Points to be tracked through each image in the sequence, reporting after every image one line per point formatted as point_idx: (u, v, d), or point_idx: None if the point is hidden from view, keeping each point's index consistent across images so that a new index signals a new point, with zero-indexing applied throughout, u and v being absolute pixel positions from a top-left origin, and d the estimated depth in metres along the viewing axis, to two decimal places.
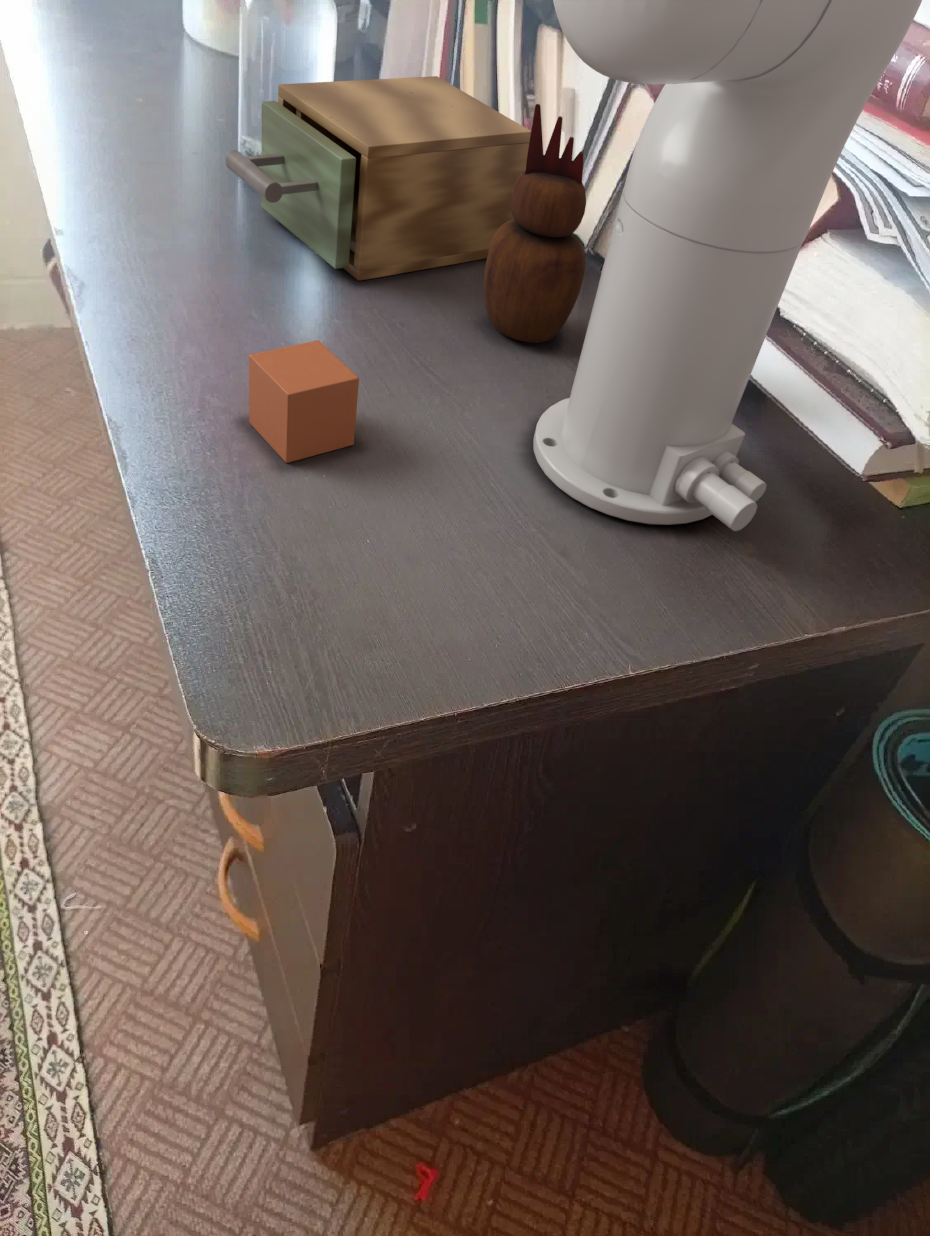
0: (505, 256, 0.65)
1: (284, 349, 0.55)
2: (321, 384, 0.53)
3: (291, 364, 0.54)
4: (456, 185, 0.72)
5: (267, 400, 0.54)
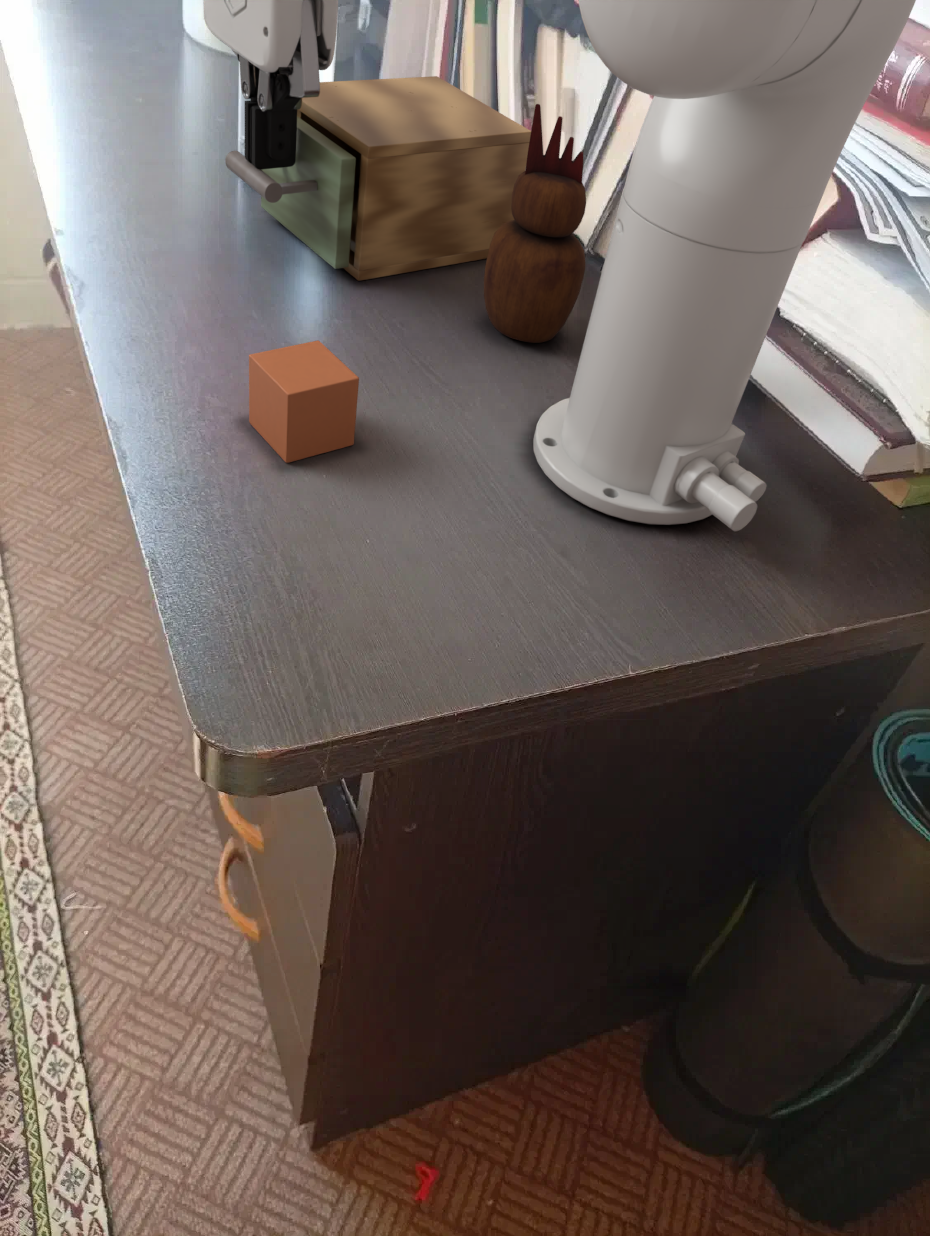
0: (505, 256, 0.65)
1: (284, 349, 0.55)
2: (321, 384, 0.53)
3: (291, 364, 0.54)
4: (456, 185, 0.72)
5: (267, 400, 0.54)
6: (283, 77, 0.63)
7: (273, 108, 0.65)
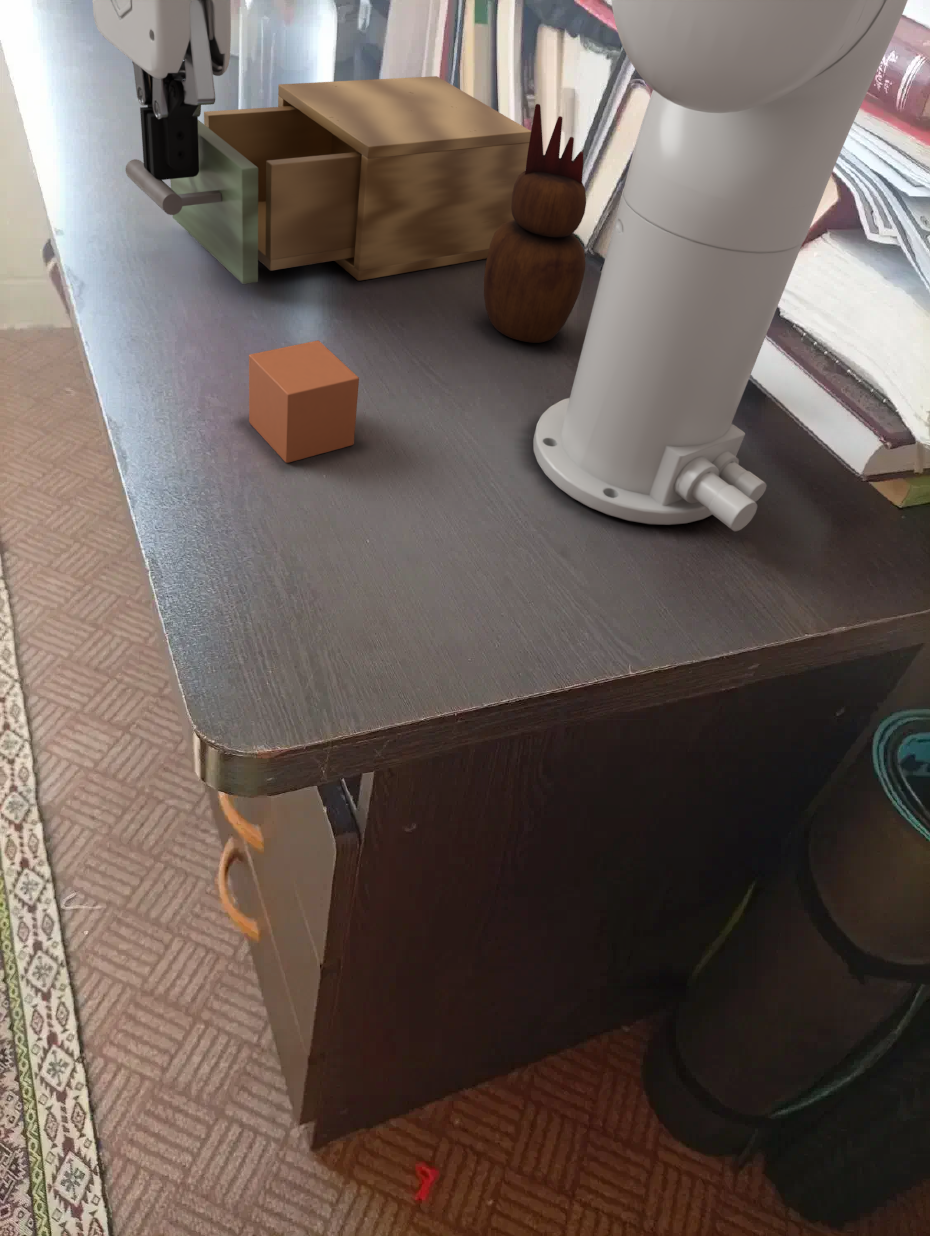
0: (505, 256, 0.65)
1: (284, 349, 0.55)
2: (321, 384, 0.53)
3: (291, 364, 0.54)
4: (456, 185, 0.72)
5: (267, 400, 0.54)
6: (176, 83, 0.59)
7: (170, 115, 0.61)
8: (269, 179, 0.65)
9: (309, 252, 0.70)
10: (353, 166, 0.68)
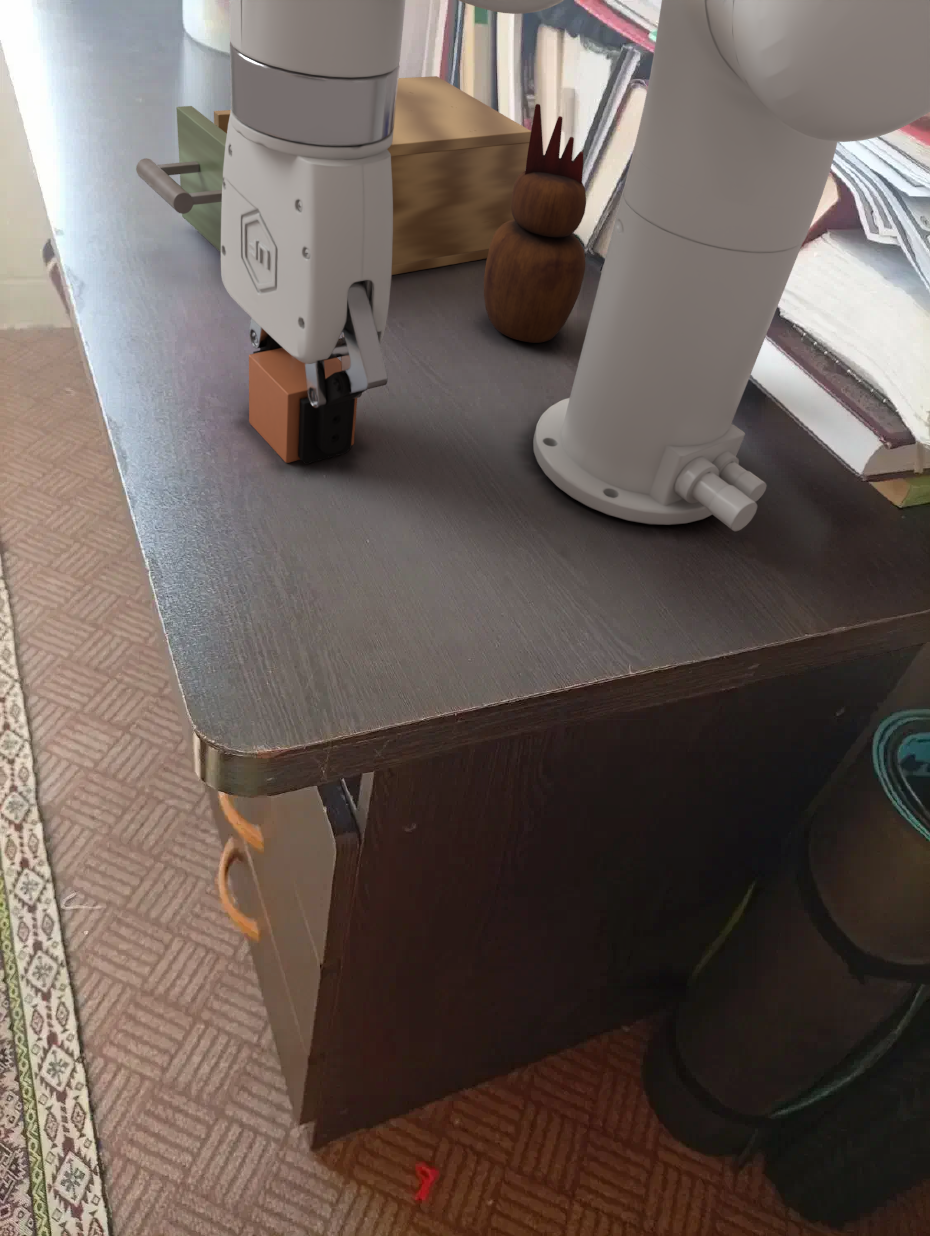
0: (505, 256, 0.65)
1: (284, 349, 0.55)
2: None
3: (291, 364, 0.54)
4: (456, 185, 0.72)
5: (267, 400, 0.54)
6: (340, 374, 0.50)
7: (328, 404, 0.52)
8: None
9: None
10: None
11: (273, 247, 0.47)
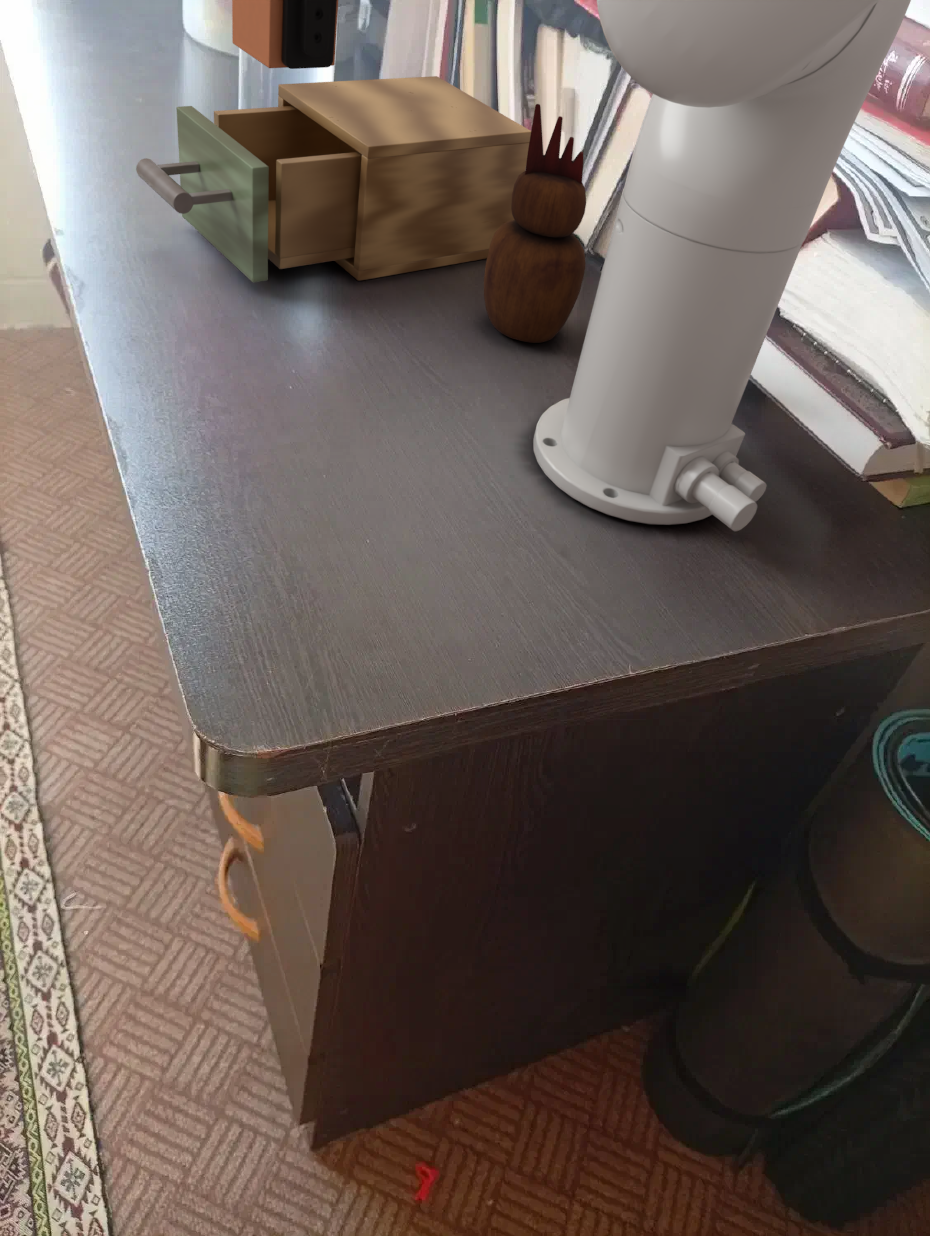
0: (505, 256, 0.65)
1: None
2: None
3: None
4: (456, 185, 0.72)
5: (250, 1, 0.56)
6: None
7: None
8: (279, 178, 0.65)
9: (318, 251, 0.70)
10: None
11: None
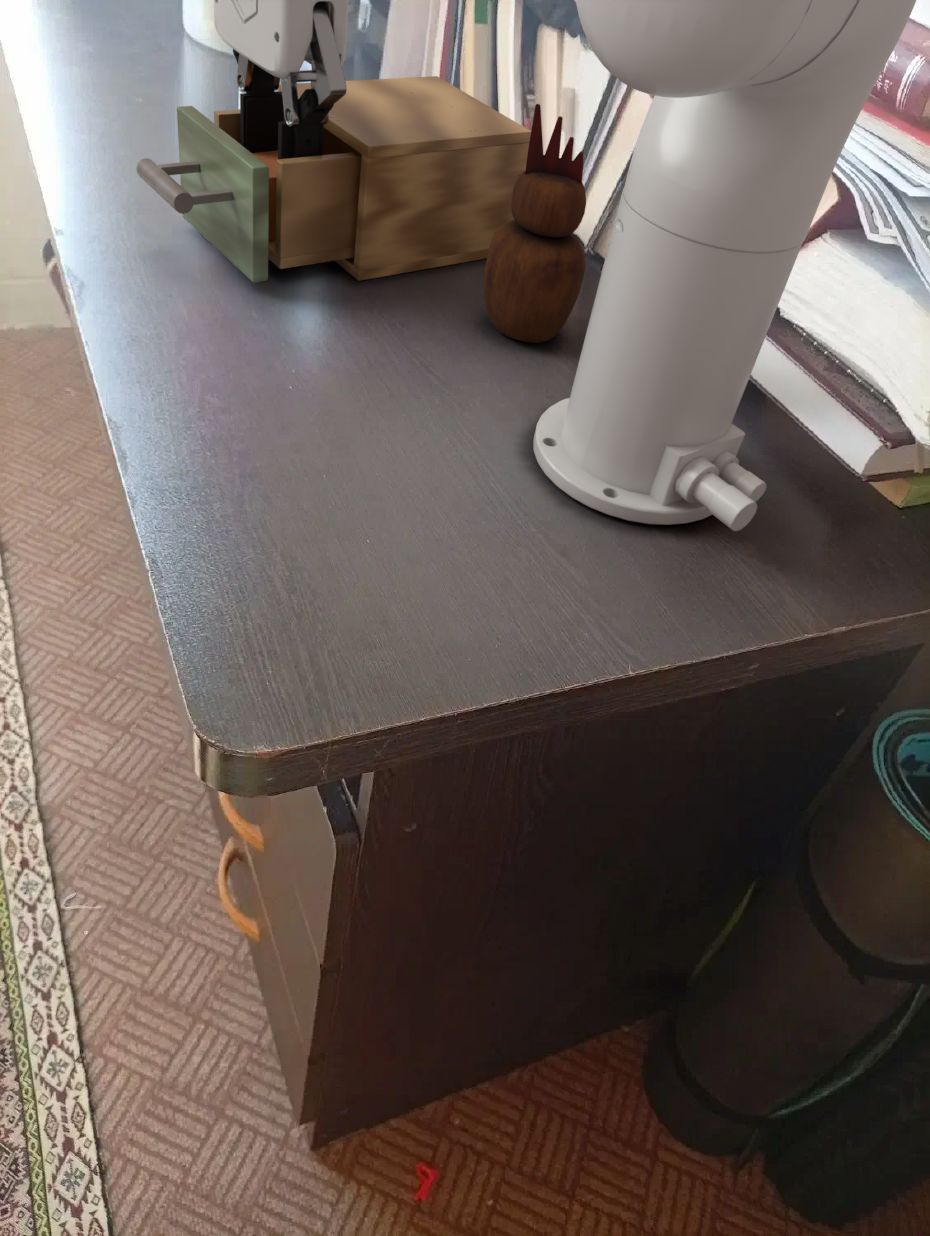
0: (505, 256, 0.65)
1: (262, 153, 0.70)
2: None
3: (267, 161, 0.69)
4: (456, 185, 0.72)
5: None
6: (309, 90, 0.62)
7: (300, 123, 0.64)
8: (279, 178, 0.65)
9: (318, 251, 0.70)
10: None
11: None
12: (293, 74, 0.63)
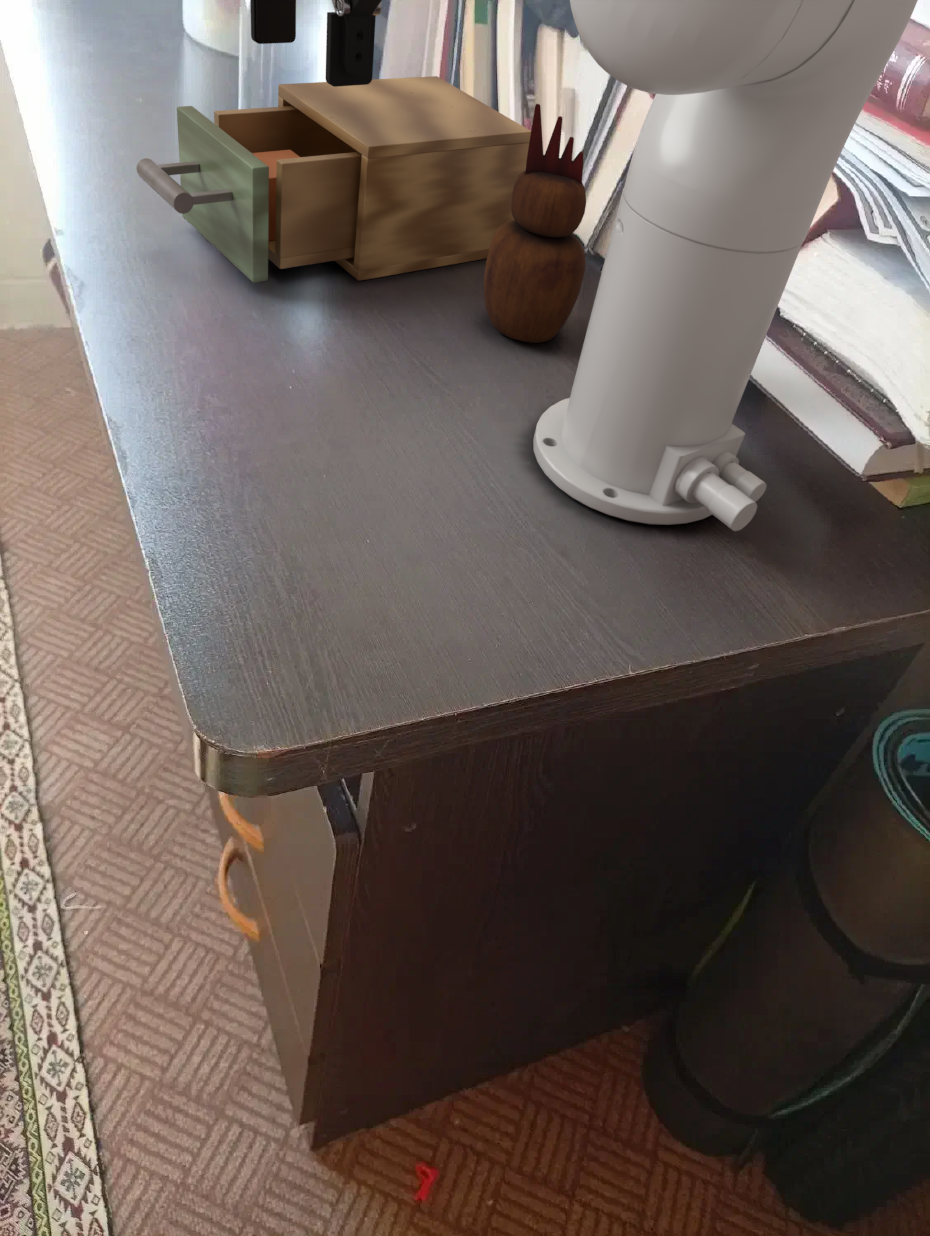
0: (505, 256, 0.65)
1: (263, 153, 0.70)
2: None
3: (268, 162, 0.69)
4: (456, 185, 0.72)
5: None
6: None
7: (352, 11, 0.58)
8: (279, 178, 0.65)
9: (318, 251, 0.70)
10: None
11: None
12: None
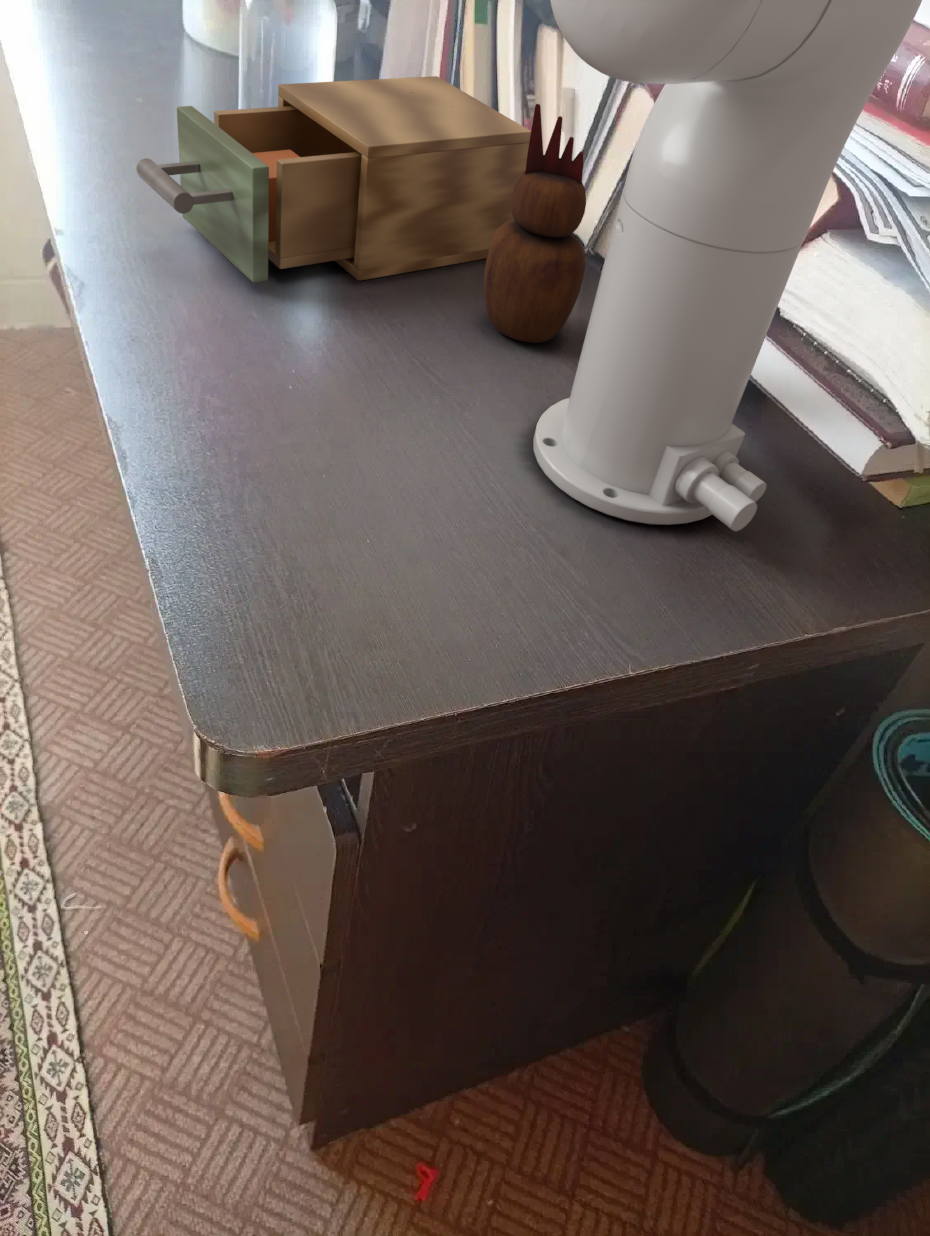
0: (505, 256, 0.65)
1: (263, 153, 0.70)
2: None
3: (268, 162, 0.69)
4: (456, 185, 0.72)
5: None
6: None
7: None
8: (279, 178, 0.65)
9: (318, 251, 0.70)
10: None
11: None
12: None
